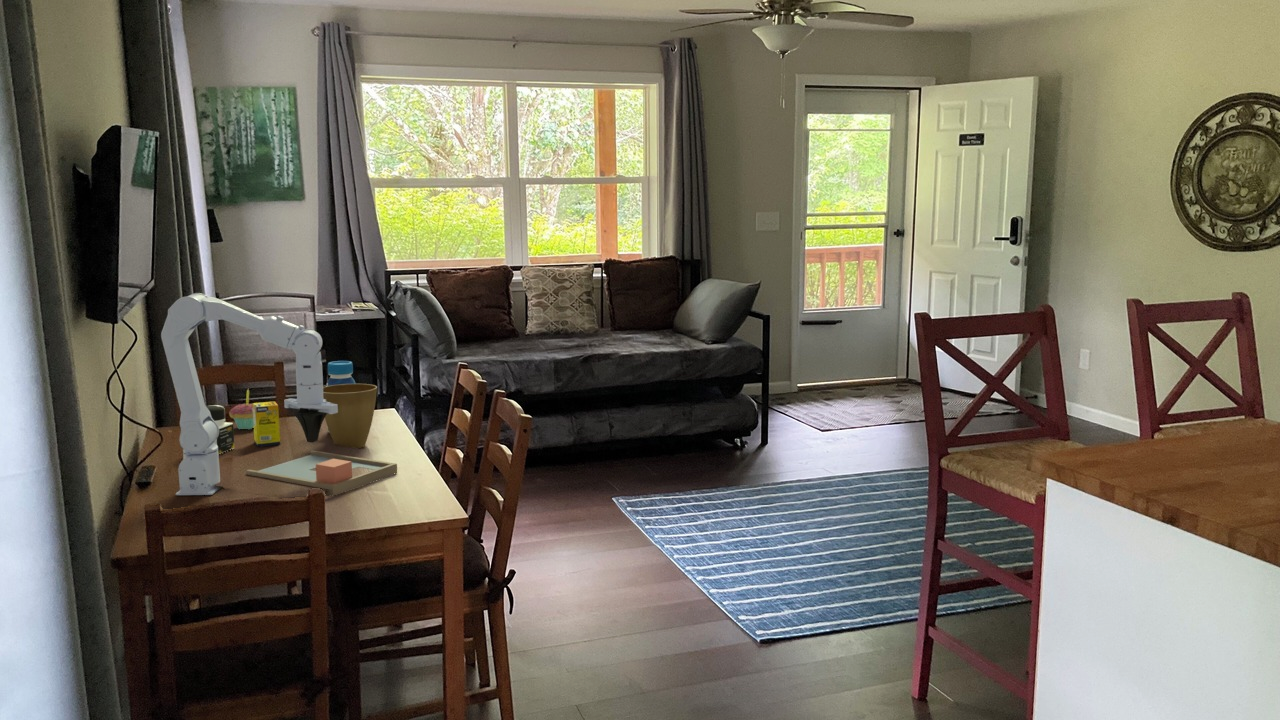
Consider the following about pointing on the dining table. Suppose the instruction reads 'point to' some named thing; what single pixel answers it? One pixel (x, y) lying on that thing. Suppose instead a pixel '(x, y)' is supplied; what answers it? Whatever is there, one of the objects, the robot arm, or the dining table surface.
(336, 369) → the beverage bottle
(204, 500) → the dining table surface
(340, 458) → the shallow rimmed tray
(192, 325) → the robot arm
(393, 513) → the dining table surface
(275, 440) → the supplement box
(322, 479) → the block
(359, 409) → the plant pot
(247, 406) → the cupcake
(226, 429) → the medicine bottle
